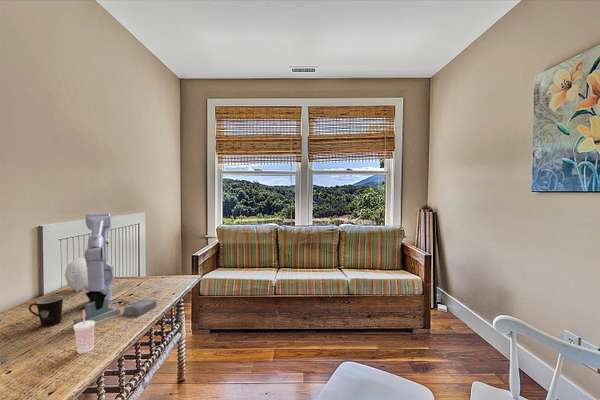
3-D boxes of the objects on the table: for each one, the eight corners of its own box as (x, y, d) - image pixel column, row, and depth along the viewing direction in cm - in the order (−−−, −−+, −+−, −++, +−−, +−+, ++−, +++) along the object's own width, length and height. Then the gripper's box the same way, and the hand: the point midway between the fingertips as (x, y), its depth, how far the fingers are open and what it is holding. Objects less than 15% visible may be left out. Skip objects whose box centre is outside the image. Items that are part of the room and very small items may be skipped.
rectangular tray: (73, 326, 126) (73, 319, 125) (111, 312, 139) (110, 306, 139) (83, 329, 122) (83, 322, 122) (120, 315, 136) (120, 309, 135)
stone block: (122, 319, 136) (141, 316, 134) (119, 308, 136) (139, 305, 134) (141, 309, 148) (159, 306, 146) (139, 299, 148) (157, 296, 146)
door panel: (86, 318, 127) (85, 304, 127) (106, 311, 134) (105, 297, 134) (89, 319, 126) (88, 305, 126) (108, 312, 133) (108, 298, 133)
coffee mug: (69, 320, 131) (68, 297, 131) (46, 329, 123) (45, 304, 123) (50, 316, 135) (49, 294, 134) (27, 325, 127) (26, 301, 126)
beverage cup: (91, 353, 105) (89, 312, 104) (71, 355, 104) (68, 314, 103) (99, 344, 111) (97, 305, 110) (80, 346, 110) (77, 307, 109)
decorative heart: (71, 287, 175) (69, 257, 174) (93, 284, 180) (92, 255, 179) (62, 297, 159) (60, 264, 158) (87, 294, 163) (85, 261, 162)
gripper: (75, 276, 129) (77, 308, 130) (95, 281, 123) (97, 315, 123) (93, 272, 136) (95, 303, 136) (113, 276, 129) (115, 308, 130)
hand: (97, 308), depth 130 cm, fingers closed on door panel, 2 cm apart
